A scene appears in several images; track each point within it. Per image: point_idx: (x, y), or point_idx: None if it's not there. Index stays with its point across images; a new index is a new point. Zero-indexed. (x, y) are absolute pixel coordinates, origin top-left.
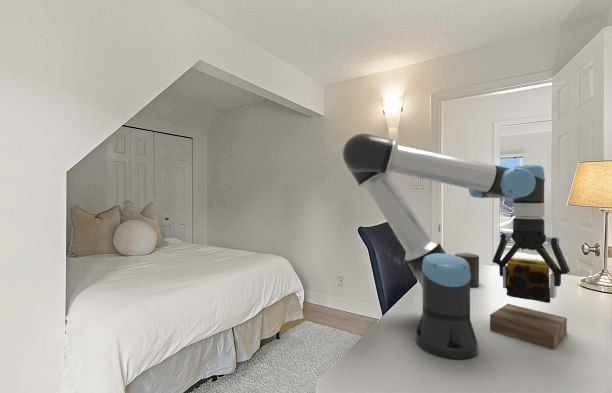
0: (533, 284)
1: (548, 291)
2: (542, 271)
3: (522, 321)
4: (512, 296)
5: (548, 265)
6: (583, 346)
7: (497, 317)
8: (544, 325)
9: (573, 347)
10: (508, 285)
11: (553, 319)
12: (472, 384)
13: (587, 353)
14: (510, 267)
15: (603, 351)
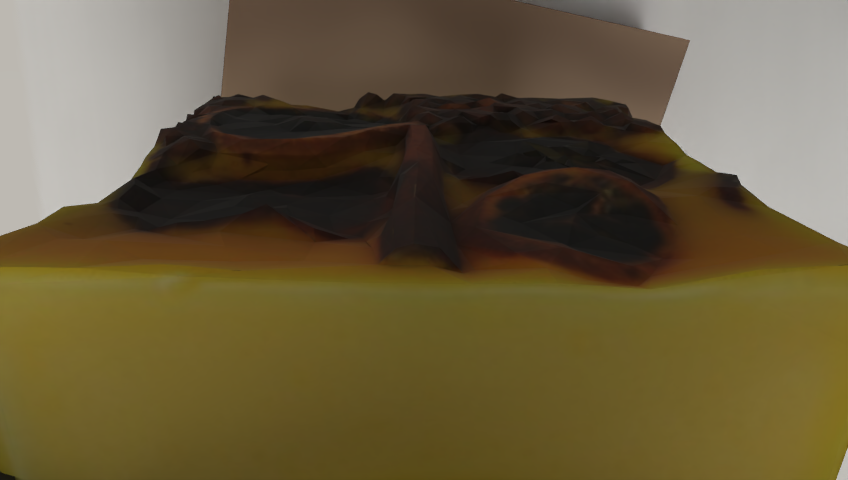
0: (342, 149)
1: (180, 125)
2: (140, 240)
3: (451, 42)
4: (563, 99)
5: (2, 473)
6: (136, 141)
7: (630, 28)
8: (304, 61)
9: (178, 83)
10: (646, 123)
11: None
12: None
13: (106, 36)
14: (753, 237)
15: (45, 135)
